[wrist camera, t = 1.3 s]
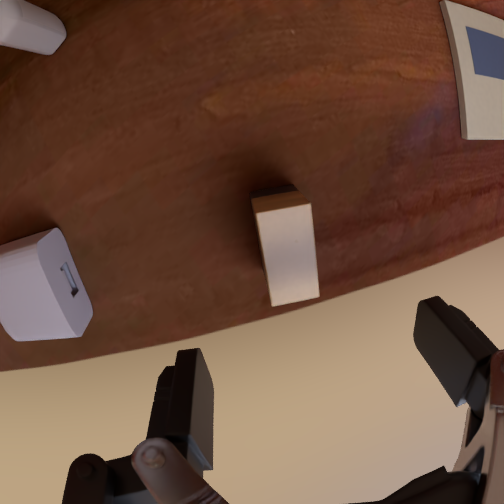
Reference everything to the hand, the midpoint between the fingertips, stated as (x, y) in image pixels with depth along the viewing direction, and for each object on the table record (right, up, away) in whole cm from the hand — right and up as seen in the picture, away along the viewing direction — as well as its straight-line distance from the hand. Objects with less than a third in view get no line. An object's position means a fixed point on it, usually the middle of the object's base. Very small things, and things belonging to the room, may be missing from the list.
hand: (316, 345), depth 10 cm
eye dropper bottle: (-20, +22, +6) cm, 30 cm away
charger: (-26, 0, +15) cm, 30 cm away
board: (+26, +22, +9) cm, 35 cm away
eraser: (0, +5, +15) cm, 16 cm away
